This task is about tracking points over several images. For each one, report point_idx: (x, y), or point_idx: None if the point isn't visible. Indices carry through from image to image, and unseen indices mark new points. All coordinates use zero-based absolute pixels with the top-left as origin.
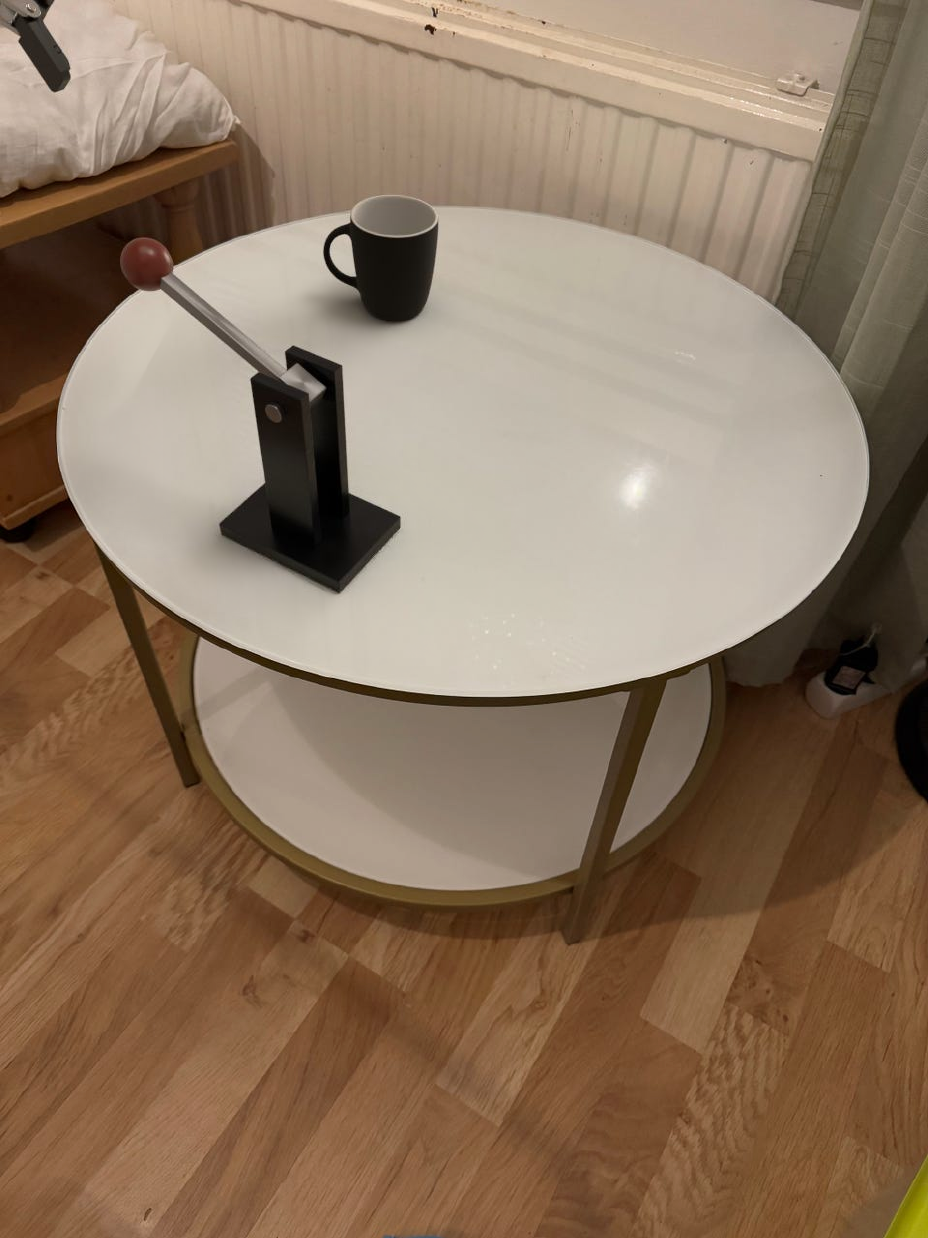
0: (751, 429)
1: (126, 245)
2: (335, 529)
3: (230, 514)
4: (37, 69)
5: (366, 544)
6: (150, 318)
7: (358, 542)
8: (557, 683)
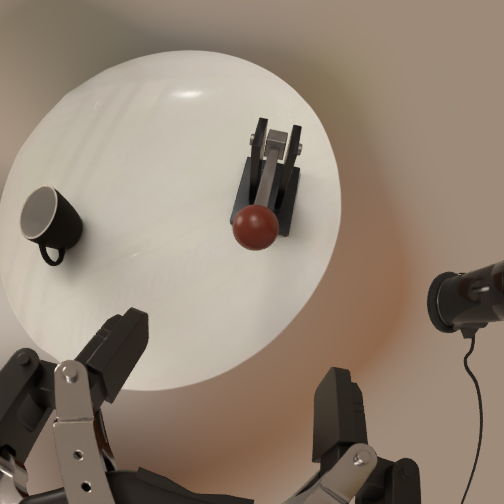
0: (143, 75)
1: (262, 234)
2: None
3: (280, 231)
4: (132, 369)
5: None
6: None
7: None
8: (302, 100)
